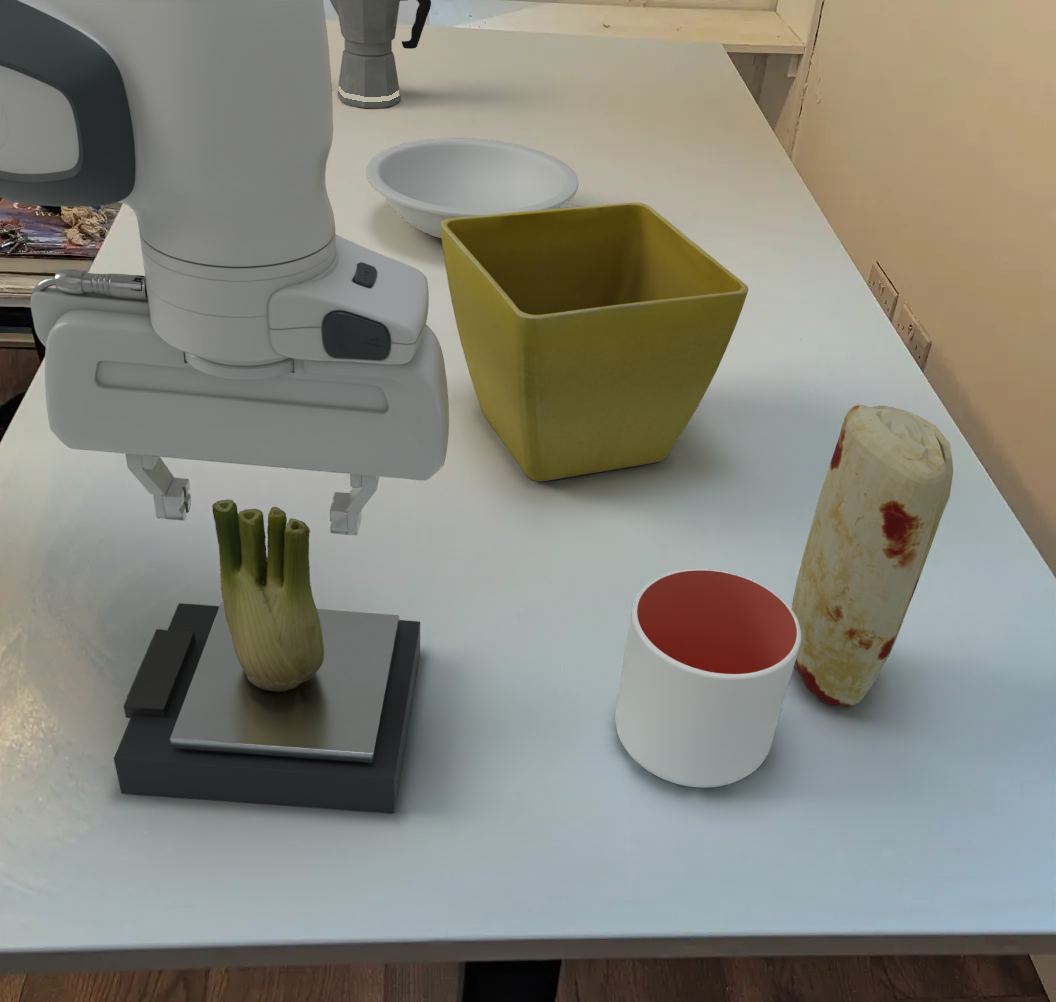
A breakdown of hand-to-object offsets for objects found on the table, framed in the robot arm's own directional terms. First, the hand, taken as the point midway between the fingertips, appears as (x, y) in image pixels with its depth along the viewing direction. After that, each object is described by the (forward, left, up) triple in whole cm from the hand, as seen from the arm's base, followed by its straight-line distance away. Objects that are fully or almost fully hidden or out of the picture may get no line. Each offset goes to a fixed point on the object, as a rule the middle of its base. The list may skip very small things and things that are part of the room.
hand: (260, 521), depth 65 cm
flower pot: (+18, +37, -15) cm, 44 cm away
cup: (+26, +1, -15) cm, 30 cm away
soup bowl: (+6, +81, -15) cm, 83 cm away
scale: (0, 0, -15) cm, 15 cm away
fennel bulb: (0, 0, -11) cm, 11 cm away
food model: (+36, +8, -15) cm, 40 cm away
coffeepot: (-11, +126, -15) cm, 128 cm away
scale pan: (+1, 0, -12) cm, 12 cm away
